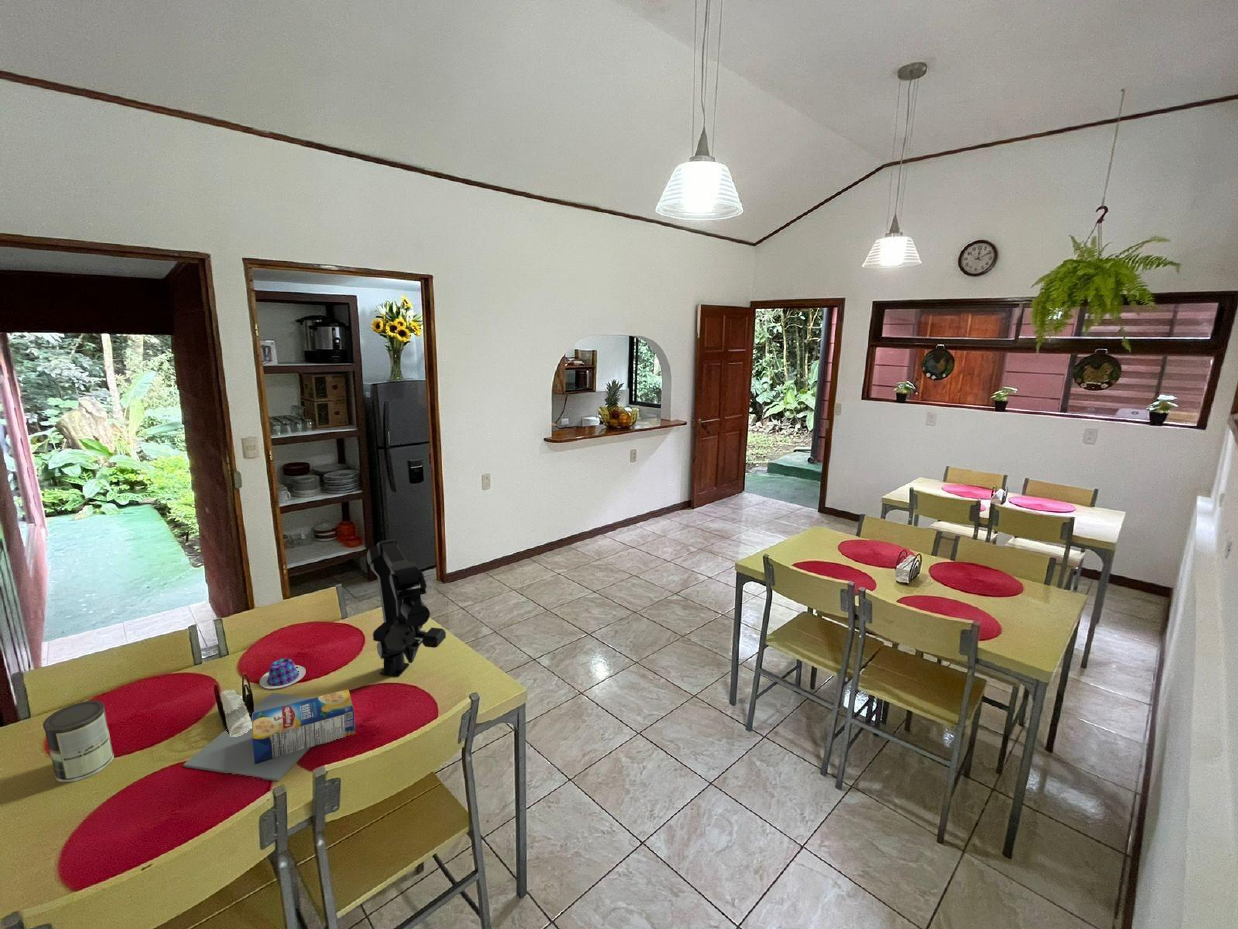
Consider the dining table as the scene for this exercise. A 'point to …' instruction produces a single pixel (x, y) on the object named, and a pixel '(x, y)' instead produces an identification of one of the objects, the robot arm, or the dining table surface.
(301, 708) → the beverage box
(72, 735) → the coffee can
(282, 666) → the pudding
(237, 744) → the mat
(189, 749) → the dining table surface
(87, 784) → the dining table surface
